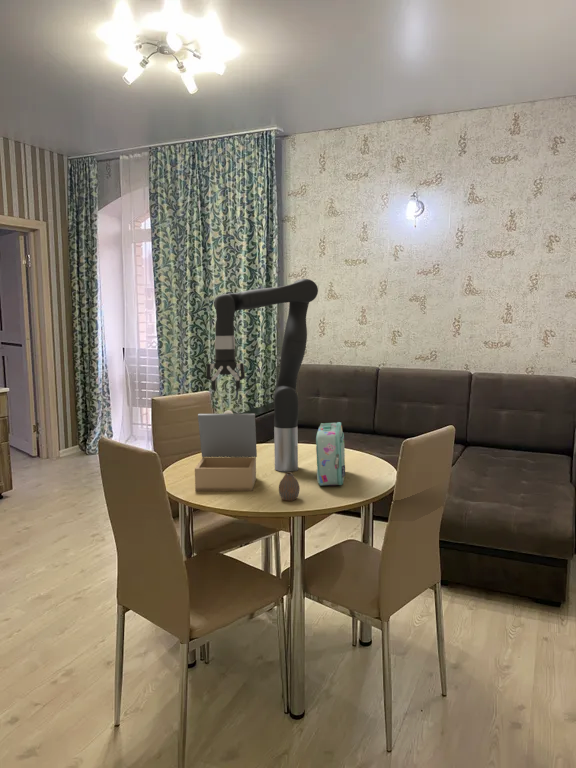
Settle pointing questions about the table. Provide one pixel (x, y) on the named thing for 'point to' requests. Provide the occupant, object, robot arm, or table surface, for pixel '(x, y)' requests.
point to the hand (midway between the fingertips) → (226, 390)
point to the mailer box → (225, 474)
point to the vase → (289, 487)
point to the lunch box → (330, 454)
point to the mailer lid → (227, 435)
